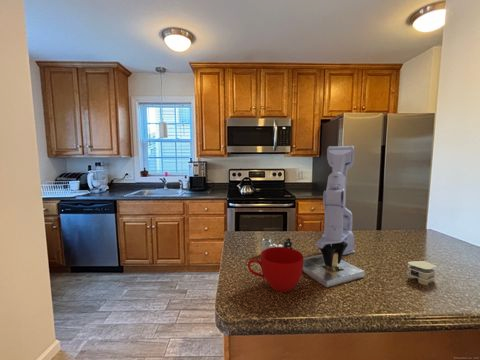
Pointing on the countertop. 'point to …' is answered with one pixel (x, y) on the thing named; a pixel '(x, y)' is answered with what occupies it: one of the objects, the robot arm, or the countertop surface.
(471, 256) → the countertop surface
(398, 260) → the countertop surface
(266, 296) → the countertop surface
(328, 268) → the brass cylinder
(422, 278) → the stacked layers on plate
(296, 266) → the ceramic cup
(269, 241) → the valve
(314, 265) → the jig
